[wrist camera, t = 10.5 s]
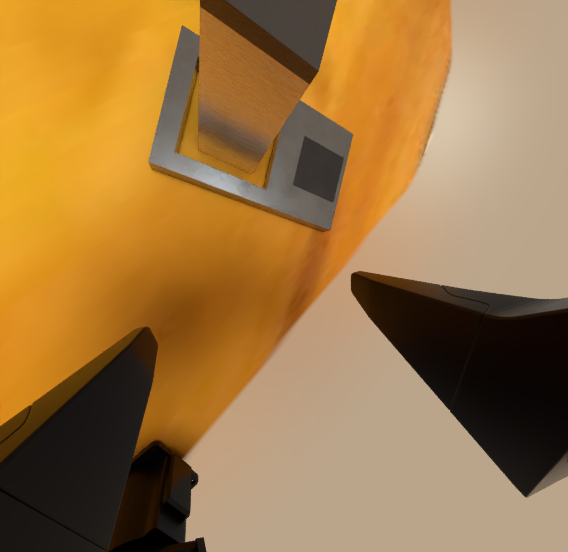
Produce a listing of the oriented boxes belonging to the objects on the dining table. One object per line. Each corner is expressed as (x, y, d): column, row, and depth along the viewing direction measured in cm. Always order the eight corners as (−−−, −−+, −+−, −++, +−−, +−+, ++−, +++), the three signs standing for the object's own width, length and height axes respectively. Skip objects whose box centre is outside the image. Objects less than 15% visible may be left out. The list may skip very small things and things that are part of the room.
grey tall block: (251, 174, 21) (318, 70, 9) (198, 150, 19) (200, -19, 7) (263, 126, 21) (346, -37, 9) (212, 97, 19) (236, -154, 7)
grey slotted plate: (322, 231, 24) (330, 230, 23) (152, 169, 17) (148, 161, 16) (344, 141, 24) (353, 133, 23) (183, 43, 18) (182, 23, 16)
